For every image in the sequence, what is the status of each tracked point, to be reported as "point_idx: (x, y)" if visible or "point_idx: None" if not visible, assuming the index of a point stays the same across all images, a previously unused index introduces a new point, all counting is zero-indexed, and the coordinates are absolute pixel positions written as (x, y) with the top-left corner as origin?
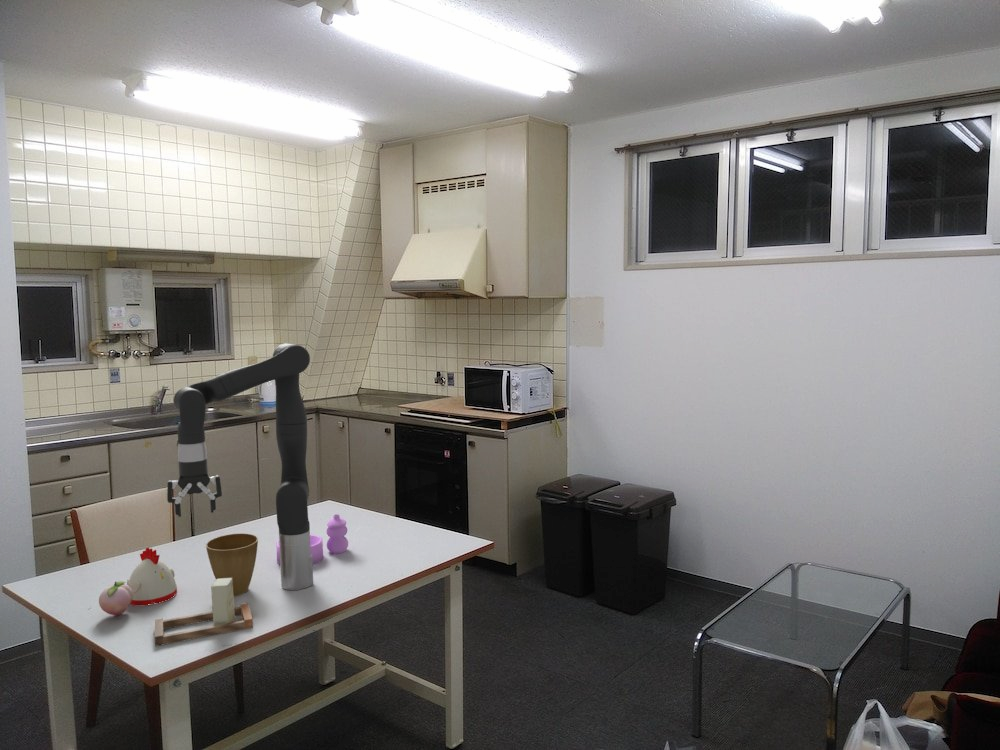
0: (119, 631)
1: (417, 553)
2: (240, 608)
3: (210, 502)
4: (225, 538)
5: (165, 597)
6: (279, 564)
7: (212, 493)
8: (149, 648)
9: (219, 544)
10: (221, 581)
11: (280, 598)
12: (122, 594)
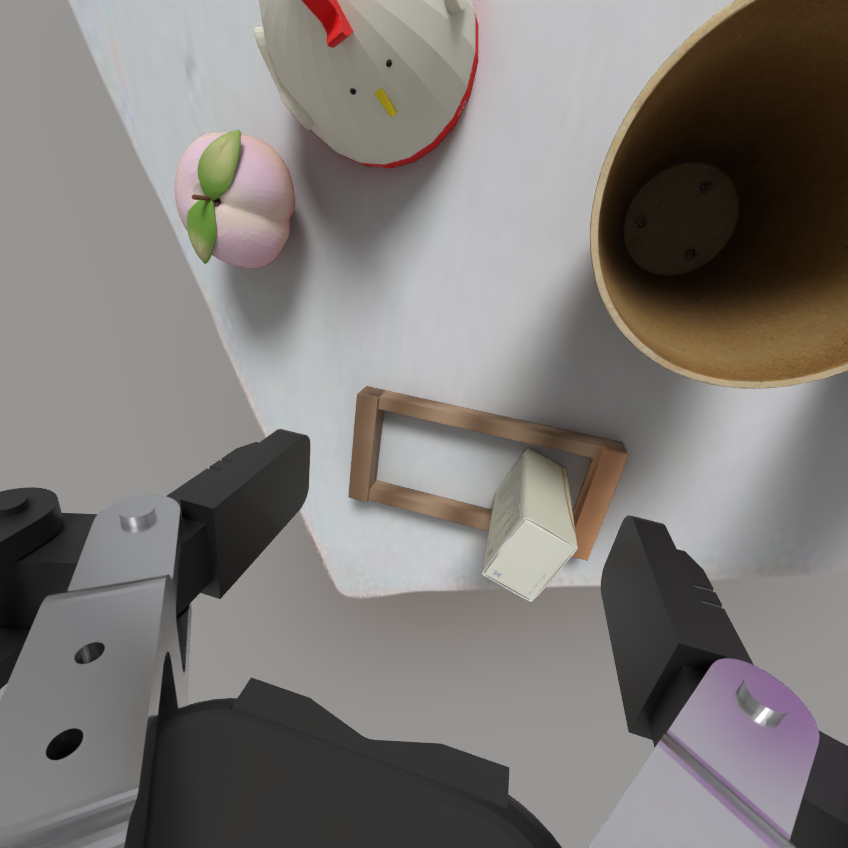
0: (284, 342)
1: None
2: (597, 457)
3: (623, 701)
4: None
5: (418, 153)
6: None
7: (776, 791)
8: (345, 486)
9: (747, 26)
10: (528, 557)
11: (774, 407)
12: (244, 256)
